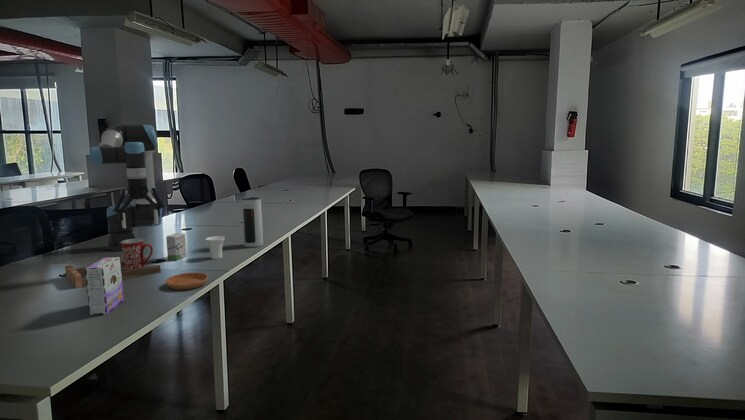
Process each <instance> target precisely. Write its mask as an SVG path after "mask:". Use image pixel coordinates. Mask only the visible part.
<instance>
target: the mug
mask: <svg viewBox="0 0 745 420" xmlns="http://www.w3.org/2000/svg"><path fill="white" fill-rule="evenodd" d="M121 245H122V250H121V251H122V256H123V261H124V263H125V268H124V269H125V271H126V270H132V269H137V268H143V267H145V264H146V263H147V264H148V262H149V260H150V258H151V257H152V255H153V253H154V252H153V251H154V250H153V249H154V248H153V245H152V244H151V243H145V244H144V239H142V238H136V239H129V240H124V241H121ZM147 246H148V247H149V248H150V253H149V255H148V257H146V258H147V260H146V261H144V250H145V248H146V247H147ZM147 264H146V265H147Z"/></svg>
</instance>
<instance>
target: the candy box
mask: <svg viewBox="0 0 745 420" xmlns="http://www.w3.org/2000/svg"><path fill="white" fill-rule="evenodd" d="M120 261H121V258H120V256H117V257H116V256H115V257H103V258H101V259H99V260H98V261H96V262H94V263H92V264H91V265H89V266H86V267H87V268H85V273H86V275H85V278H86V283H87V286H86V293H87V301H88V311H89V316H95V315H96V316H97V315H98V316H104V315H108V314H110V312H112V311H113V310H114V309H115V308H116V307H118V306H119V305H120V304H121V303H122V302H123V301H125V297H124V288H123V279H122V274H121V271H122V269H121V264H120Z"/></svg>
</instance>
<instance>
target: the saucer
mask: <svg viewBox="0 0 745 420" xmlns="http://www.w3.org/2000/svg"><path fill="white" fill-rule="evenodd" d="M208 280H209V276H208V274H206V273H202V272H186V273H178V274H174V275H173V276H170V277H167V278H166V280H165V285H167V286H168V287H169V288H170V289H172V290H176V291H183V290H184V291H188V290H194V289H198V288H200V287H203V286H204V285H205V284H206V283H207V281H208Z"/></svg>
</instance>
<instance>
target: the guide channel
mask: <svg viewBox="0 0 745 420" xmlns="http://www.w3.org/2000/svg"><path fill="white" fill-rule="evenodd" d="M143 257H144V256H143ZM147 258H148V257H146V256H145V257H144V261H146V260H147ZM120 264H121V274H122V280H126V279H133V278H137V277H143V275H144V276H148V274H149V275H153V273H154V274H158V273H159V274H160V273H161V265H160V264H156V265H149V266H145V265H148V262H147V263H146V264H145V265H144V267H143V268H137V269H132V270H126V269H125V263H124V260H120ZM87 267H88V266H83V267H77V268H74V267H73V266H72V265H71V264H68V265H67V264H66V265H65V266H64V270H65V278H66V279H68V281H69V282H70V283H71V284H72V285H73V286H74V287H75V288H76V289H79V288H83V287H87V283H86V277H82V276H86V273H85V268H87ZM123 269H125V270H123Z"/></svg>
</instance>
